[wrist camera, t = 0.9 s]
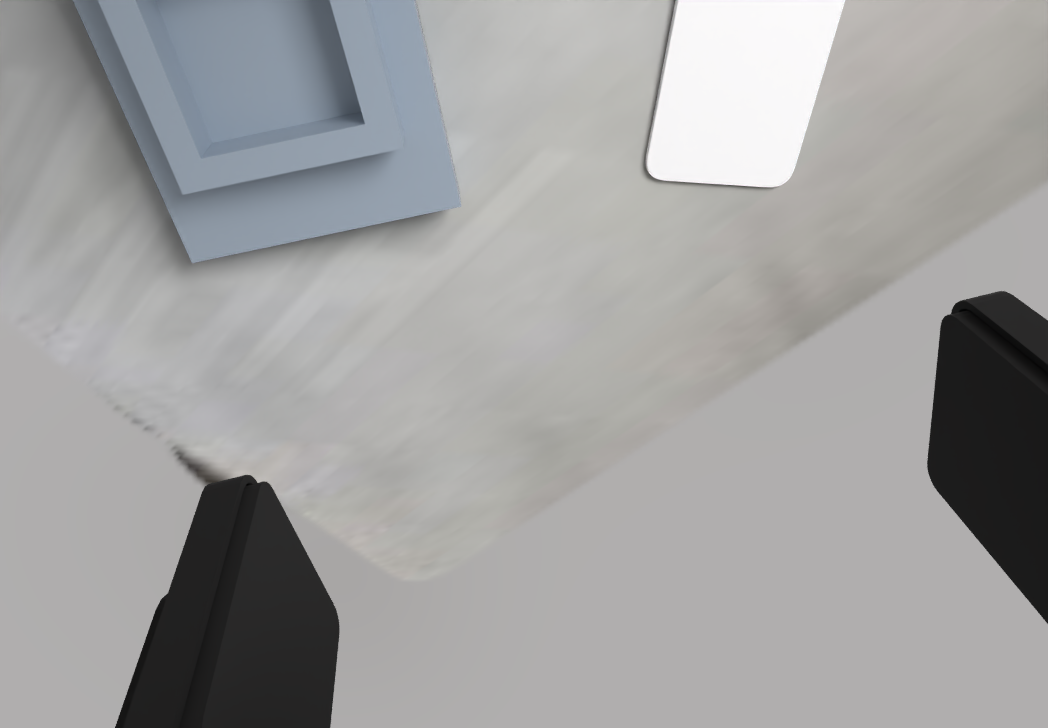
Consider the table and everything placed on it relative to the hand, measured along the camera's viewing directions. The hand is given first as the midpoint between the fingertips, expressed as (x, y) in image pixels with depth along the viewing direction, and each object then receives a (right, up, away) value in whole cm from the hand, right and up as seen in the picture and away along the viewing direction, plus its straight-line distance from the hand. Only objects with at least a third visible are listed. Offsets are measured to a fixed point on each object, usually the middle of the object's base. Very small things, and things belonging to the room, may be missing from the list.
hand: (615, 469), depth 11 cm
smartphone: (+8, +17, +23) cm, 30 cm away
